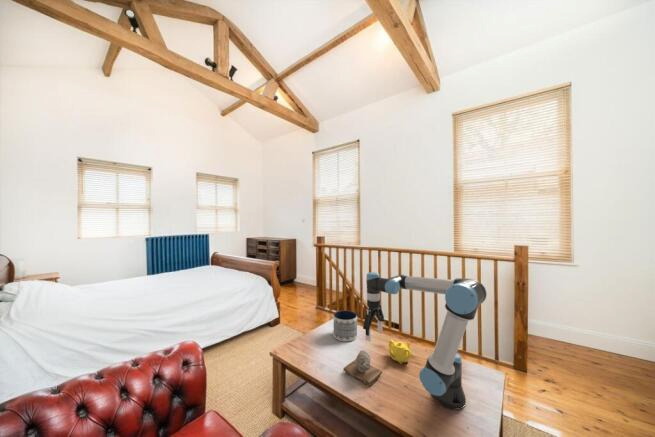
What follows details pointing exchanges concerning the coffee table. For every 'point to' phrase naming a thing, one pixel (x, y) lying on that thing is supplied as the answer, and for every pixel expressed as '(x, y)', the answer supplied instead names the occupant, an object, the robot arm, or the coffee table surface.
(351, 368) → the stand
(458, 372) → the robot arm
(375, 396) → the coffee table surface
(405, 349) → the teapot
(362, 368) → the stone
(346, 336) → the planter
